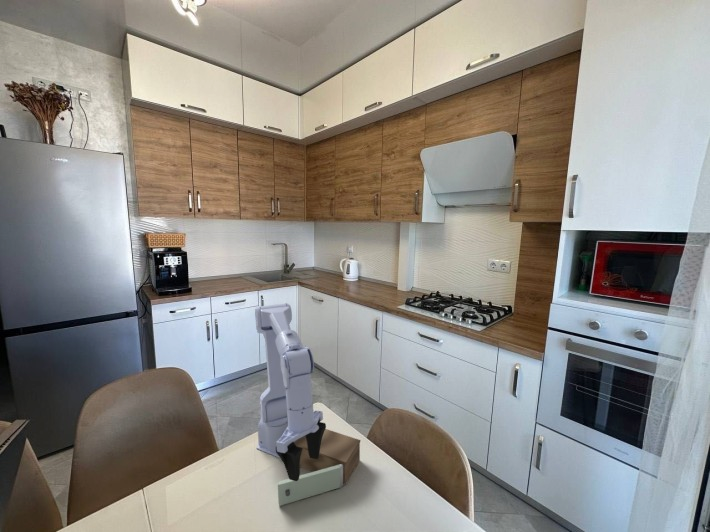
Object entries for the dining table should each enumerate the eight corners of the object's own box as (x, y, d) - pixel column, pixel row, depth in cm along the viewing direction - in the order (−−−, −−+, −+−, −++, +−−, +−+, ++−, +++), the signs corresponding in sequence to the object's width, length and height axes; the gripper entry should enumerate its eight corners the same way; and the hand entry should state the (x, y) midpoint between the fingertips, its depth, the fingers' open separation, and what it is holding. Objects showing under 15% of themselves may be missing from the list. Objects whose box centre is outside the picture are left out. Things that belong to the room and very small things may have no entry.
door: (342, 483, 76) (342, 463, 75) (344, 489, 74) (344, 469, 74) (278, 502, 71) (277, 481, 70) (279, 509, 69) (278, 488, 68)
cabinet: (288, 461, 84) (288, 441, 83) (306, 441, 92) (306, 422, 91) (346, 485, 76) (345, 462, 75) (360, 460, 84) (360, 440, 83)
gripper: (294, 422, 57) (300, 495, 56) (331, 393, 70) (336, 452, 69) (266, 418, 60) (271, 487, 59) (307, 391, 73) (311, 447, 72)
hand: (304, 468), depth 64 cm, fingers open, 7 cm apart
